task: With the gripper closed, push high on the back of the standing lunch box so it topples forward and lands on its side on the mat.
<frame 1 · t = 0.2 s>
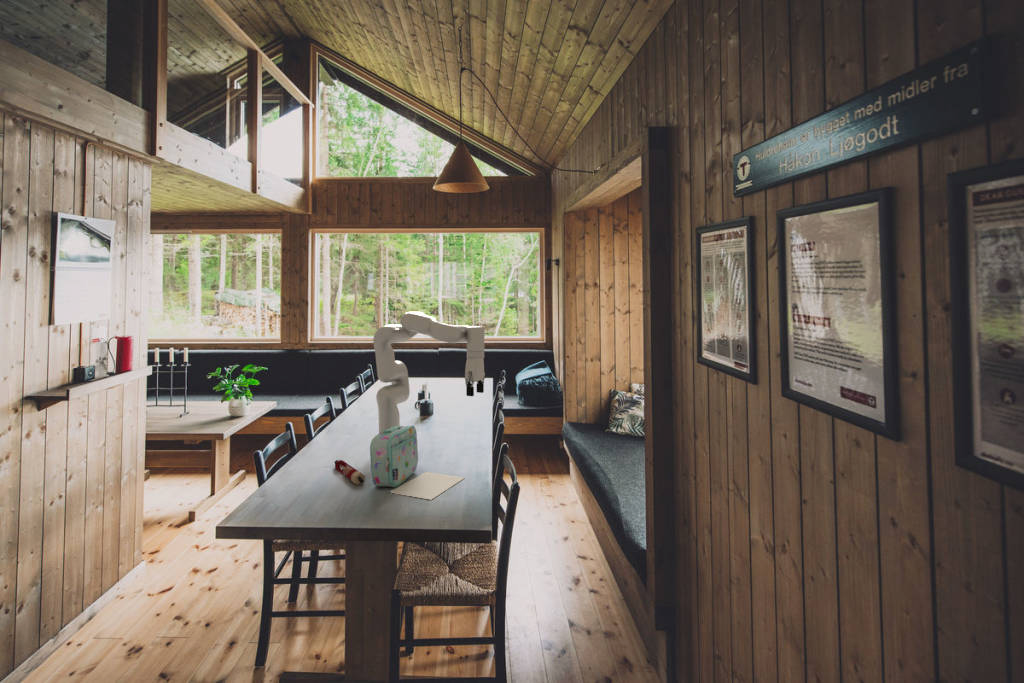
hand: (475, 394, 227), 31 cm above the table, tool pointing down, fingers open, 9 cm apart
shock absorber: (348, 477, 212), on the table
lunch box: (395, 480, 208), on the table
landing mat: (428, 485, 203), on the table
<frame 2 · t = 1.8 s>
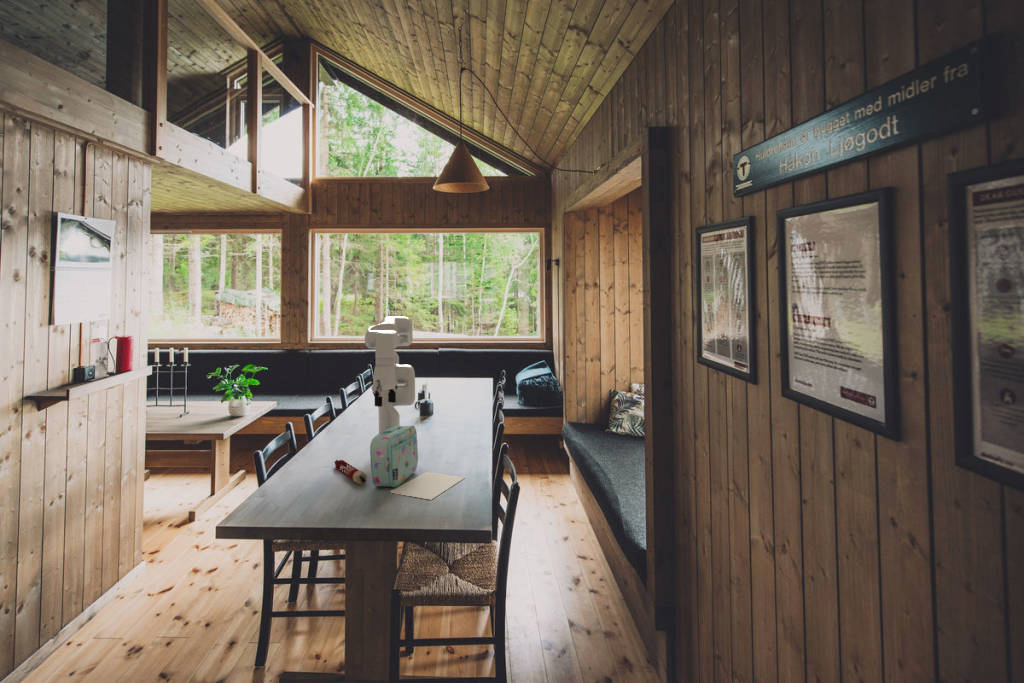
hand: (385, 404, 214), 29 cm above the table, tool pointing down, fingers open, 9 cm apart
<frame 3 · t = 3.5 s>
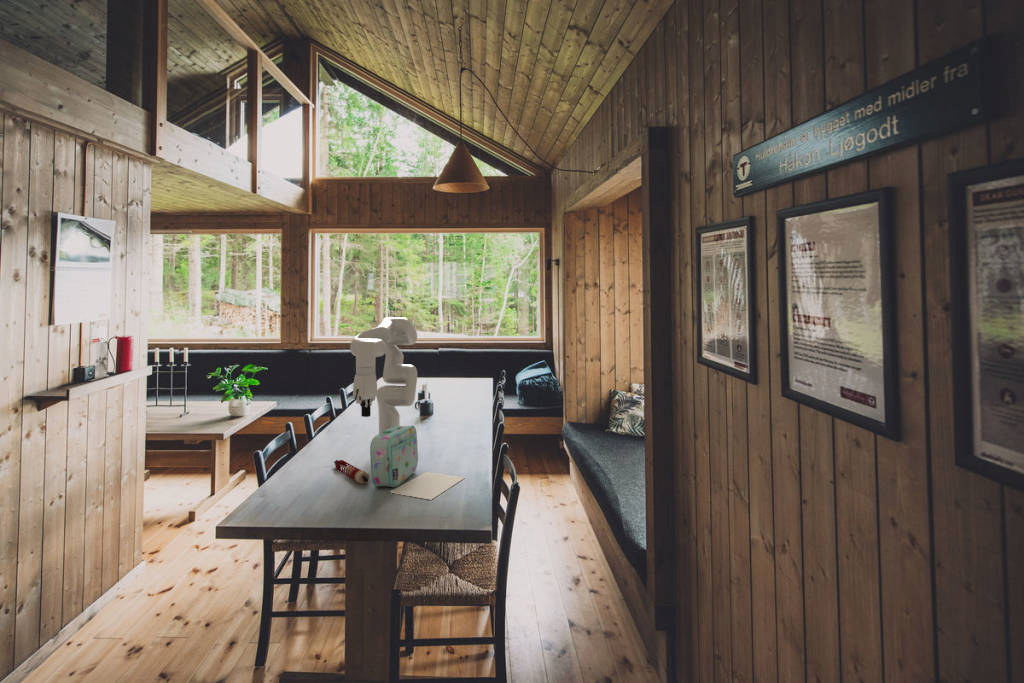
hand: (366, 416, 212), 24 cm above the table, tool pointing down, fingers closed
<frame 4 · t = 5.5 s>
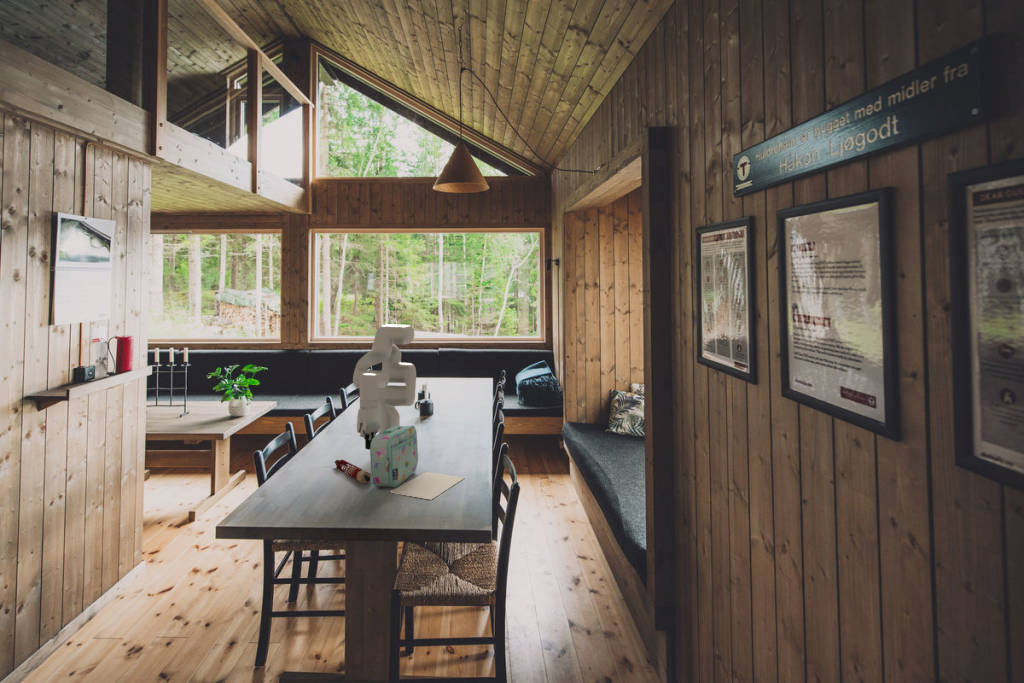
hand: (369, 448, 212), 11 cm above the table, tool pointing down, fingers closed
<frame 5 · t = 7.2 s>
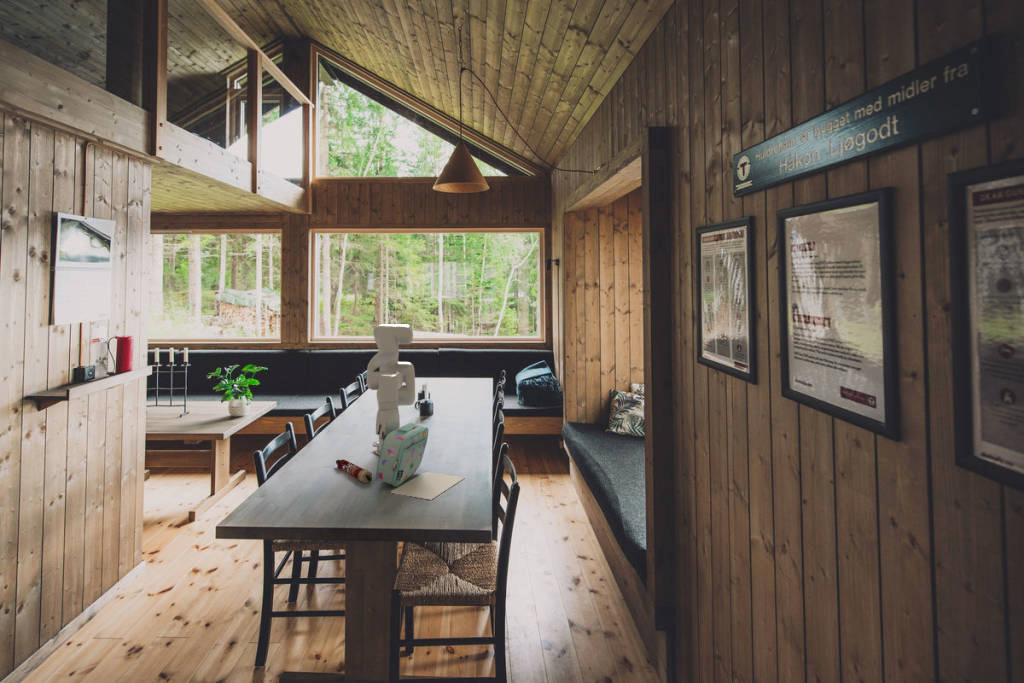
hand: (388, 451, 209), 11 cm above the table, tool pointing down, fingers closed
lunch box: (396, 477, 208), point 1 cm above the table, touching gripper
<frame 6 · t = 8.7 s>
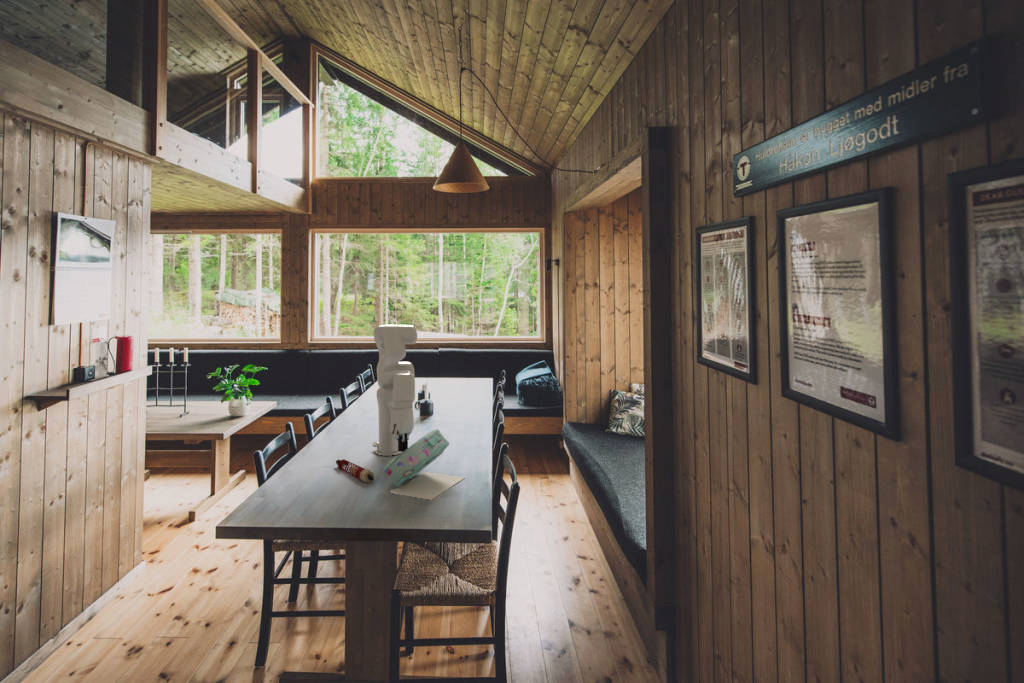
hand: (403, 450, 206), 12 cm above the table, tool pointing down, fingers closed
lunch box: (398, 471, 208), point 4 cm above the table, touching gripper, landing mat
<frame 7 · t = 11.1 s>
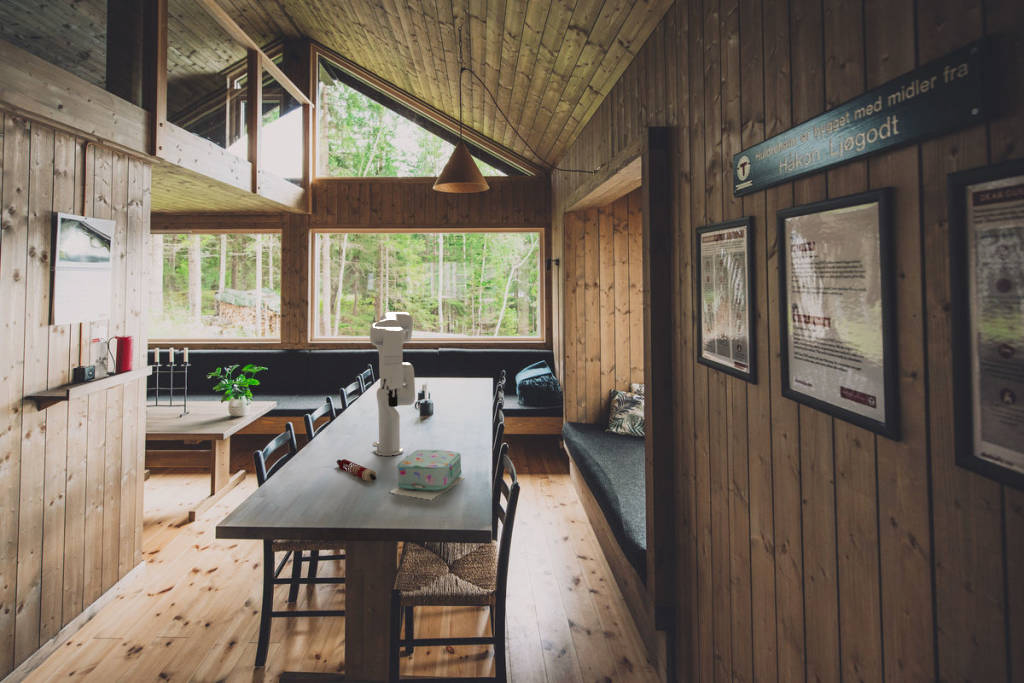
hand: (393, 406, 209), 29 cm above the table, tool pointing down, fingers closed
lunch box: (405, 467, 207), point 6 cm above the table, touching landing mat
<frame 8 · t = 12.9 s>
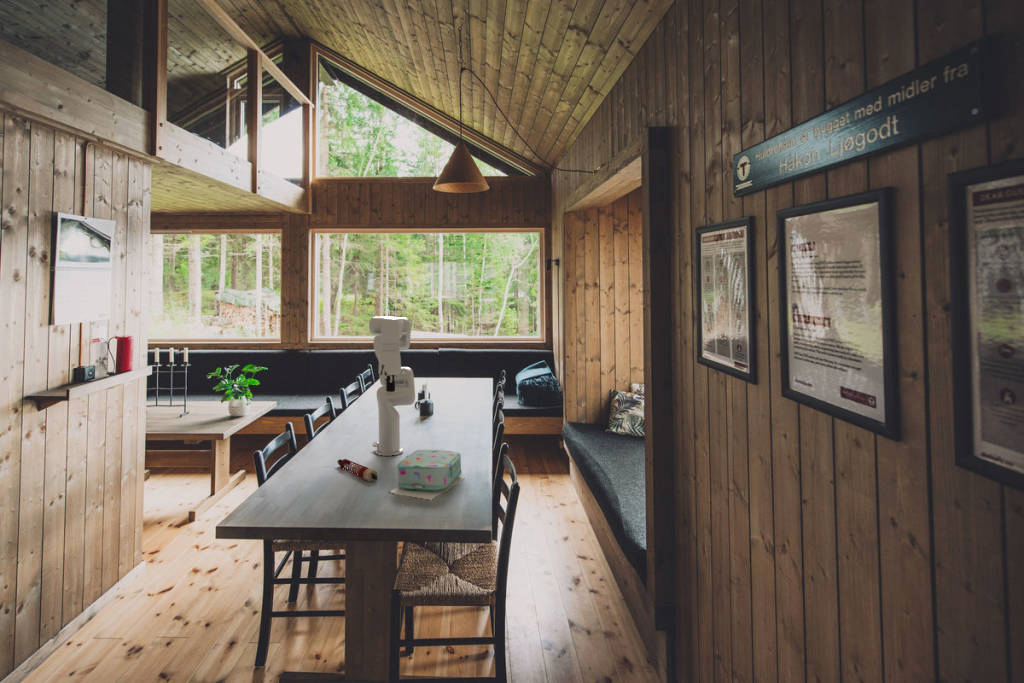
hand: (390, 391, 220), 33 cm above the table, tool pointing down, fingers closed
at the end: lunch box tilted 91°; lunch box touching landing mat; lunch box inside the target area (2.5 cm from its centre), point 5.6 cm above the table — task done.
